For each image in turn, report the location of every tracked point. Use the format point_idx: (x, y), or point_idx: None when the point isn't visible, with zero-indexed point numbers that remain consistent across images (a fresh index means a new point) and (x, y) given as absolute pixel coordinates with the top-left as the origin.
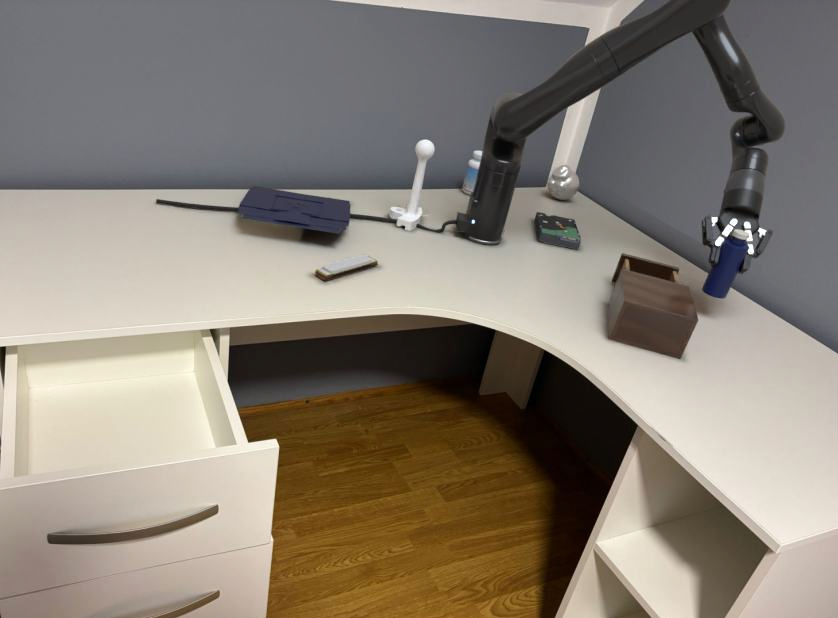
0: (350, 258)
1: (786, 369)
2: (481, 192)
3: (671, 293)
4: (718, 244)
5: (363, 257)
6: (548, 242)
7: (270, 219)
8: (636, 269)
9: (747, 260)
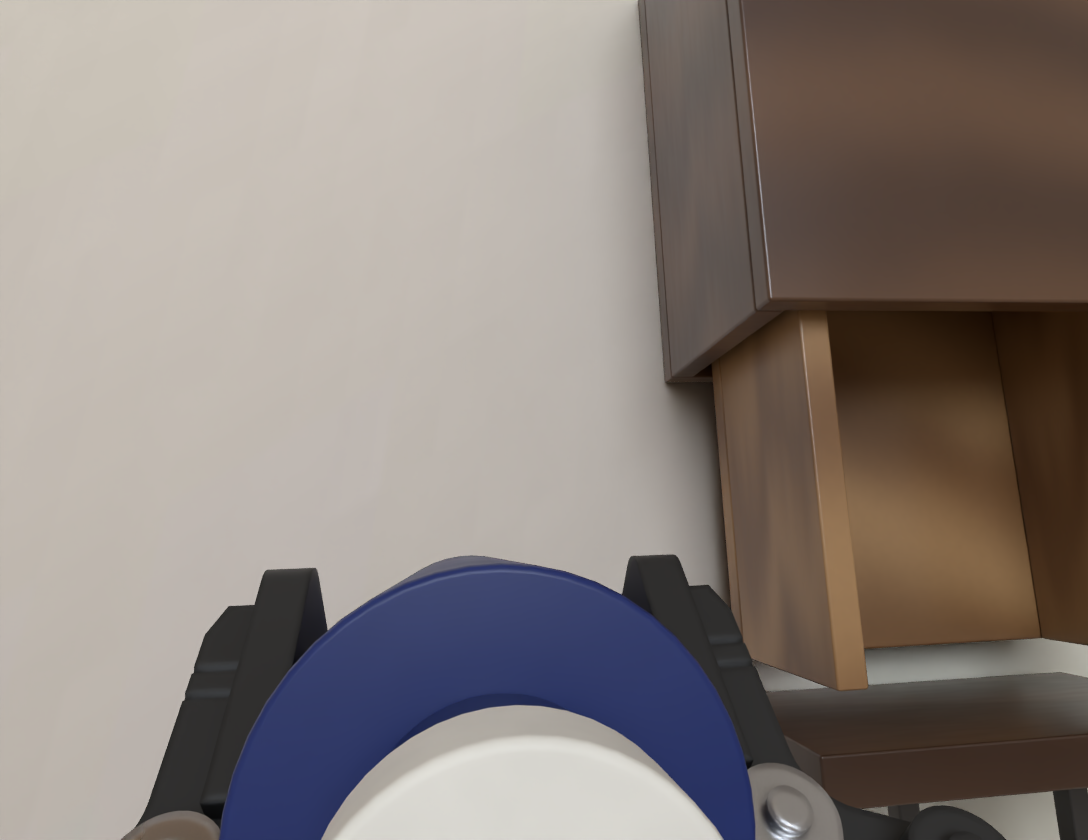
0: None
1: (43, 169)
2: None
3: (896, 67)
4: (769, 798)
5: None
6: None
7: None
8: (1062, 707)
9: (237, 697)
